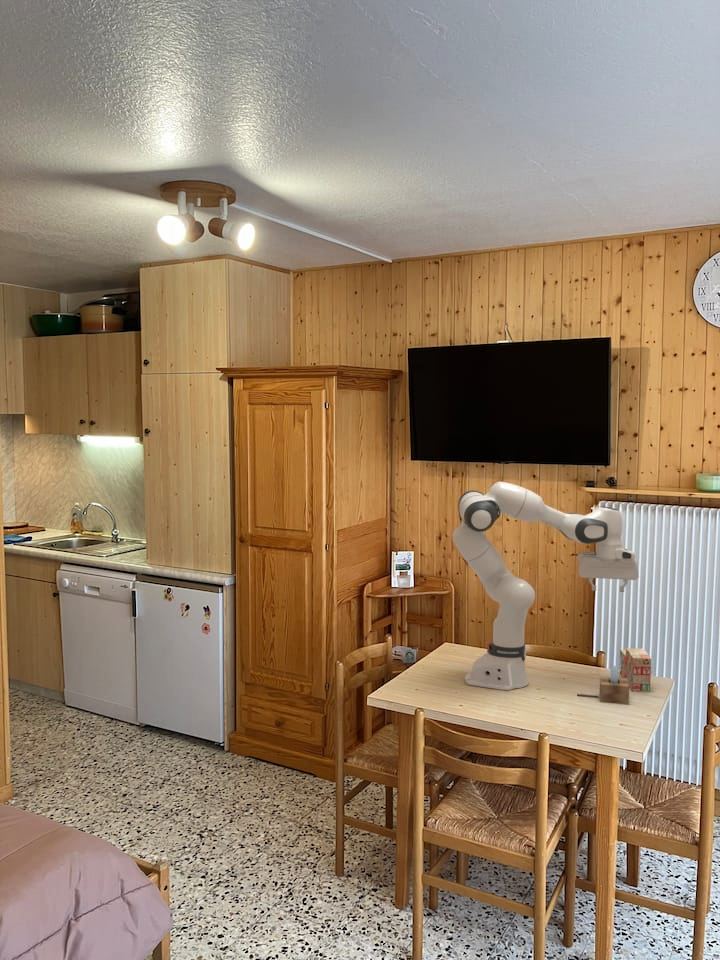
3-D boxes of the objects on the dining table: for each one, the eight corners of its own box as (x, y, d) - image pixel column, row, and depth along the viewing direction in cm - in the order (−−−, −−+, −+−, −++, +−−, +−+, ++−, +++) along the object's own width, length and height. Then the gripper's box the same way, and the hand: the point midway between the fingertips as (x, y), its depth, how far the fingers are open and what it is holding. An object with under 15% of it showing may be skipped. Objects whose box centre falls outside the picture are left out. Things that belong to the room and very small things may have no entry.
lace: (577, 695, 267) (577, 694, 267) (577, 695, 268) (577, 693, 268) (598, 697, 265) (598, 696, 265) (598, 697, 266) (598, 695, 266)
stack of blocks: (619, 673, 293) (620, 641, 293) (636, 674, 293) (637, 641, 292) (632, 691, 272) (632, 657, 271) (650, 692, 271) (651, 657, 271)
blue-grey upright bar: (610, 699, 264) (611, 667, 263) (609, 697, 266) (610, 665, 265) (617, 700, 263) (618, 668, 262) (617, 697, 265) (618, 666, 265)
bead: (600, 701, 261) (600, 684, 261) (599, 693, 270) (599, 676, 270) (628, 704, 259) (629, 686, 259) (626, 695, 268) (627, 678, 267)
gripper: (578, 552, 275) (577, 591, 276) (639, 554, 270) (638, 594, 271) (578, 549, 281) (577, 587, 282) (638, 552, 276) (637, 590, 277)
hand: (607, 591), depth 276 cm, fingers open, 8 cm apart
